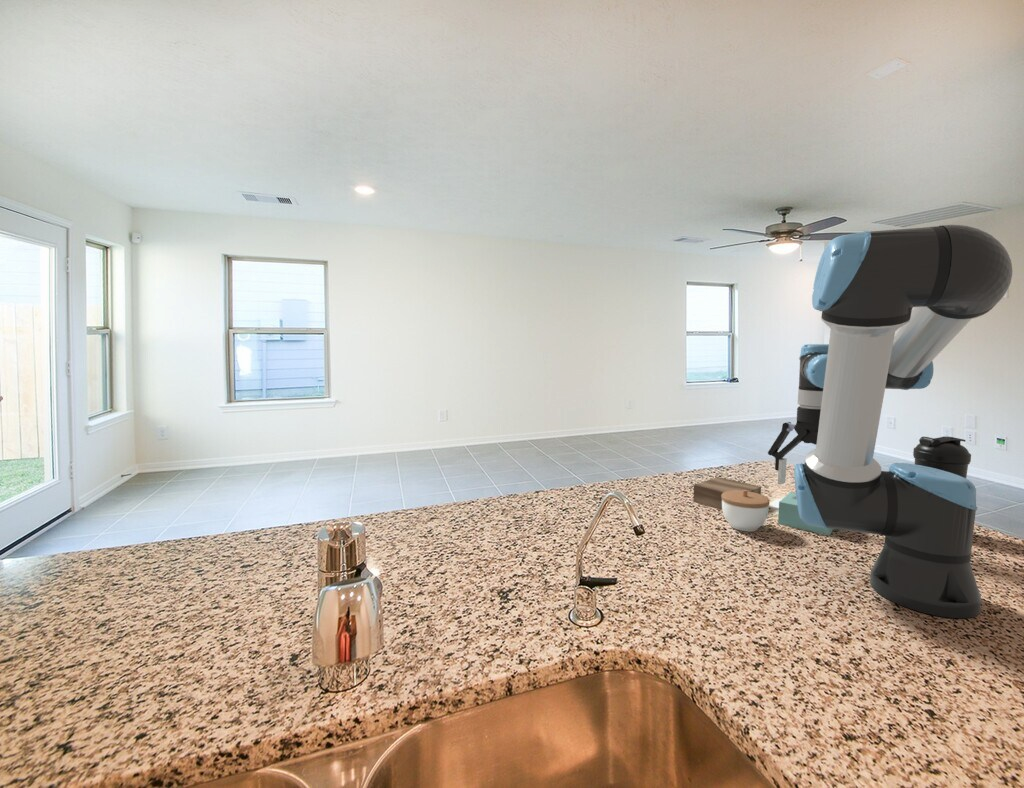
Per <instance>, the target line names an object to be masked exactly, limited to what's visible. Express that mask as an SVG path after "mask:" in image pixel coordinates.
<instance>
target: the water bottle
mask: <svg viewBox="0 0 1024 788" xmlns="http://www.w3.org/2000/svg"><path fill="white" fill-rule="evenodd" d="M918 441H919V443H918V444H917V445H916V446H915V447H913V452H912V455H913V458H914V464H916V465H921V466H926V467H931V468H935V469H939V470H943V471H946V472H950V473H953V474H956V475H959V476H961V477H964V478H966V479H967V475H968V468H969V465H970V464H971V462H972V461H971V460H972V454H971V453H970V451H969V450H968V448H966V447H965V446H964V445H962V444H961V443H962V442H967V441H966V439H964V438H960V437H954V436H940V437H929V436H921V437H920V438H919V440H918Z"/></svg>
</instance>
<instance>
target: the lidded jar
mask: <svg viewBox="0 0 1024 788" xmlns="http://www.w3.org/2000/svg"><path fill="white" fill-rule="evenodd" d="M721 498H722V509H721V510H722V515H723V517H724V519H725V520H726V521H727V523H728V524H729V526H730V527H731V528H732V529H735V530H737V531H741V532H756V531H757V530H758V529H759V528H760V527H762V526H763V525H764V524H765V523H766V520H767V519H768V514H769V508H770V507H769V506H770V499H769V497H767V496H765V495H763V494H762V493H761V494H758V493H754V492H749V491H747V490H743V491H738V490H734V491H726V492H723V493H722V495H721Z"/></svg>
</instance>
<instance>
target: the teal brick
mask: <svg viewBox="0 0 1024 788" xmlns="http://www.w3.org/2000/svg"><path fill="white" fill-rule="evenodd" d="M777 520H778V521H777V524H778V525H782V526H786V527H790V528H795V529H799V530H804V531H807V532H812V533H817V534H821V535H825V536H830V535H831V534H832V532H833V531H834V530H835V529H830V528H829V529H825V528H823V527H817V526H811V525H807V524H805V523H804V522H803V521H802V520H801V519H800V516H799V512H798V506H797V499H796V491H795V492H793V491H790V492H789V493H788V494H787V495H786V496H785V497H783V498H782V499H780V501H778V519H777Z"/></svg>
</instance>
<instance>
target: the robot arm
mask: <svg viewBox="0 0 1024 788" xmlns="http://www.w3.org/2000/svg"><path fill="white" fill-rule="evenodd" d="M1012 278H1013V264H1012V259H1011V257H1010V254H1009V252H1008V250H1007V248H1006V247H1005V246H1004V245H1003V244H1002V243H1001V241H1000V240H998V239H997V238H995V237H994V236H993V235H992V234H991V233H990V234H989V232H986V231H984V230H982V229H979V228H976V227H972V226H970V225H969V226H968V225H963V224H946V225H945V224H944V225H943V224H942V225H937V226H927V227H925V226H924V227H913V228H901V229H900V228H899V229H887V230H883V229H882V230H874V231H873V230H871V231H867V230H866V231H865V230H864V231H862V232H857V233H849V234H843V235H839V236H836V237H835V238H833V239H831V240H830V241H829V242H828V244H827V245H826V246H825V248H824V250H823V252H822V254H821V257H820V260H819V262H818V265H817V269H816V273H815V276H814V281H813V288H812V289H813V292H812V296H811V302H812V307H813V309H814V310H816V311H818V312H821V316H820V317H821V318H820V319H821V321H822V322H823V323H824V324H826V326H827V327H829V328H830V332H829V340H828V343H825V344H824V343H822V344H821V343H815V344H812V343H809V344H803V345H802V346H801V347H800V355H799V358H798V359H799V377H798V391H797V393H798V394H797V404H798V405H799V406H798V407H797V408H796V423H792V422H790V421H787V422H783V423H782V426H781V430H780V433H779V434H778V435H777V437H776V439H775V440H774V441H773V444H772V445H771V447H770V448H769V450H768V451H767V455H769V456H771V457H773V458H774V461H775V462H774V465H775V466H774V469H775V471H778V473H777V474H778V475H777V485H783V484H785V483H786V480H787V479H786V477H787V458H786V457H785V456H786V455H787V454H788V453H790V452H791V451H792V450H793V449H794V448H796V447H797V446H799V444H800V443H802V442H803V444H813V445H816V446H815V449H813V450H811V451H809V452H807V454H806V455H805V457H804V463H802V462H801V463H797V464H794V466H793V467H794V469H793V477H794V488H795V493H796V499H797V506H798V512H799V516H800V519H801V520H802V521H803V522H804V523H805V524H807V525H811V526H817V527H823V528H825V529H829V528H830V529H834V530H839V531H848V532H856V533H861V534H862V533H863V534H864V533H865V534H871V535H878V536H884V545H883V547H882V549H881V550H880V553H879V555H878V556H877V559H875V562H874V563H873V566H872V567H871V569H870V576H869V584H870V586H871V588H872V589H873V590H874V591H875V592H876V593H877V594H878V595H880V596H882V597H884V599H886V600H889V601H891V602H893V603H894V604H897V605H900V606H901V607H905V608H908V609H910V610H912V611H913V610H914V611H917V612H919V613H923V614H928V615H931V616H935V617H936V616H937V617H943V618H950V619H969V618H974V617H976V616H978V615H979V614H980V613H981V607H982V596H981V593H980V590H979V587H978V584H977V580H976V577H975V575H974V572H973V569H972V566H971V560H972V559H971V558H972V550H973V538H974V531H975V530H974V529H975V521H976V520H975V519H976V511H977V510H978V506H977V488H976V486H975V484H974V483H972V481H971V480H969V479H968V478H967V477H966V478H964V477H961V476H959V475H956V474H953V473H950V472H946V471H943V470H939V469H935V468H931V467H926V466H921V465H916V464H915V463H908V462H892V463H891V464H890V466H889V467H888V470H887V471H885V470H882V466H881V464H880V463H879V462H878V460H876V459H875V458H874V453H875V450H876V449H875V448H876V443H877V437H878V431H879V425H880V419H881V414H882V408H883V403H884V396H885V392H886V390H888V389H890V390H905V391H908V390H922V389H926V388H927V387H928V386H929V385H930V384H931V381H932V380H933V376H934V368H935V367H934V362H933V361H934V360H935V358H936V357H937V356H939V354H940V353H941V352H942V351H944V349H945V348H946V347H947V346H948V345H949V344H950V343H951V342H952V341H953V339H954V338H955V337H956V336H957V335H958V334H959V333H960V332H961V331H962V330H963V329H964V328H965V327H966V326H967V325H968V324H969V322H971V320H973V319H976V318H980V317H982V316H984V315H986V314H987V313H989V312H990V311H991V310H993V308H994V307H995V306H997V304H998V303H1000V301H1001V300H1002V299H1003V298H1004V296H1005V294H1006V293H1007V291H1008V290H1009V287H1010V286H1011V283H1012ZM895 333H896V334H895ZM793 431H795V433H796V434H797V435H796V436H795V437H794V438H793V439H792V440H791V441H789V443H788V444H785V446H784V447H783V448H782V449H781V450H780V448H781V447H782V445H783V444H784V442H785V440H786V439H787V438H788V436H789V435H790V433H791V432H793Z"/></svg>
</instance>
